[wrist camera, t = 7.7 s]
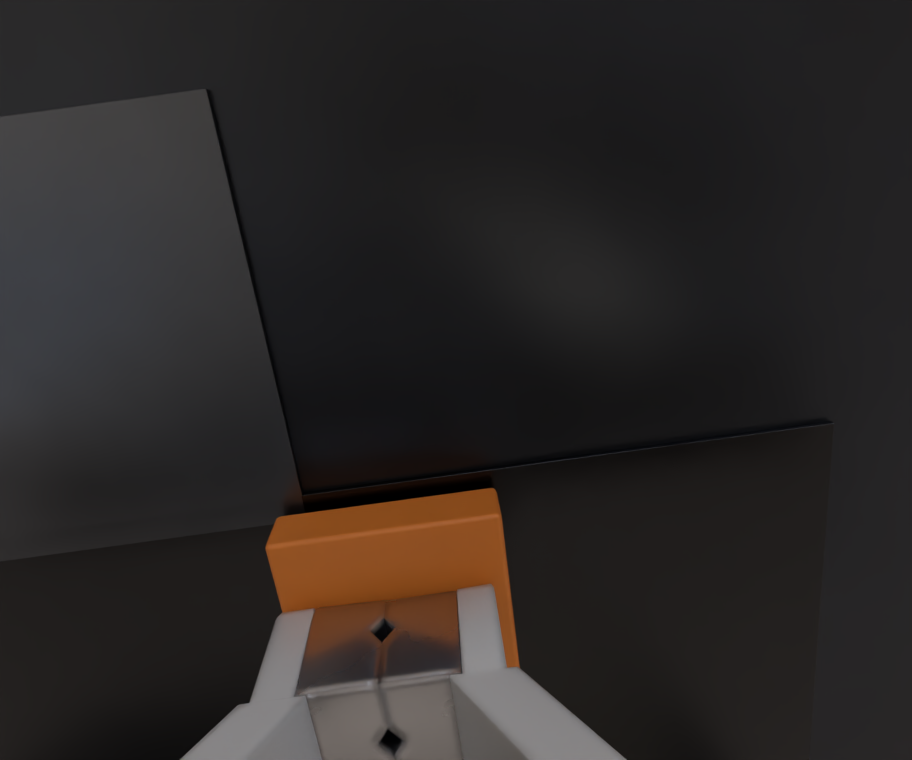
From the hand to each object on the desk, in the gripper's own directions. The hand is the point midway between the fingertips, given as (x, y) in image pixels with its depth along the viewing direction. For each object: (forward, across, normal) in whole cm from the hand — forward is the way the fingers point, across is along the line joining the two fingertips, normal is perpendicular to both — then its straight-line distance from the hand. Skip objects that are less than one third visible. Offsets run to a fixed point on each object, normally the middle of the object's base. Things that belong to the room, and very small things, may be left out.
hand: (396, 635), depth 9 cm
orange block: (+2, 0, 0) cm, 2 cm away
